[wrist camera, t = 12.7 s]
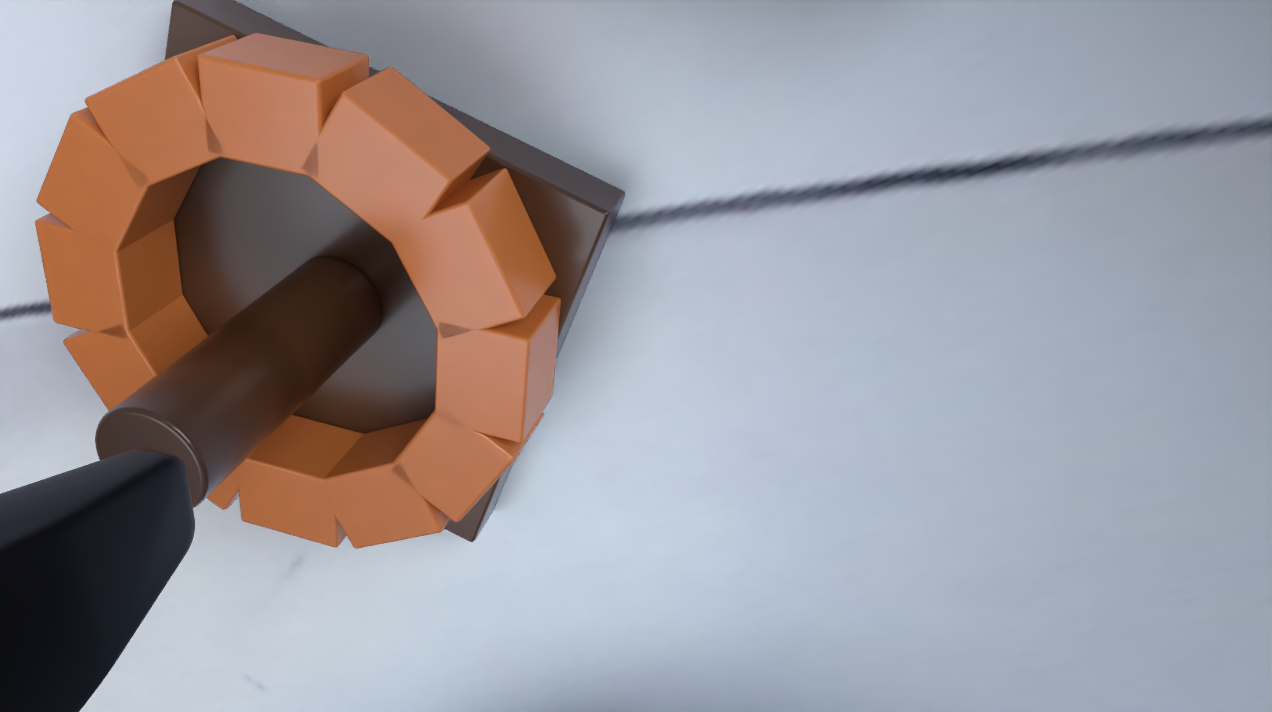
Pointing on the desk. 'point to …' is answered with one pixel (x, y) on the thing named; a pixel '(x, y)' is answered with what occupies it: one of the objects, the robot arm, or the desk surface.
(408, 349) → the post
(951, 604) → the desk surface
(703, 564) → the desk surface
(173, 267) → the ring
